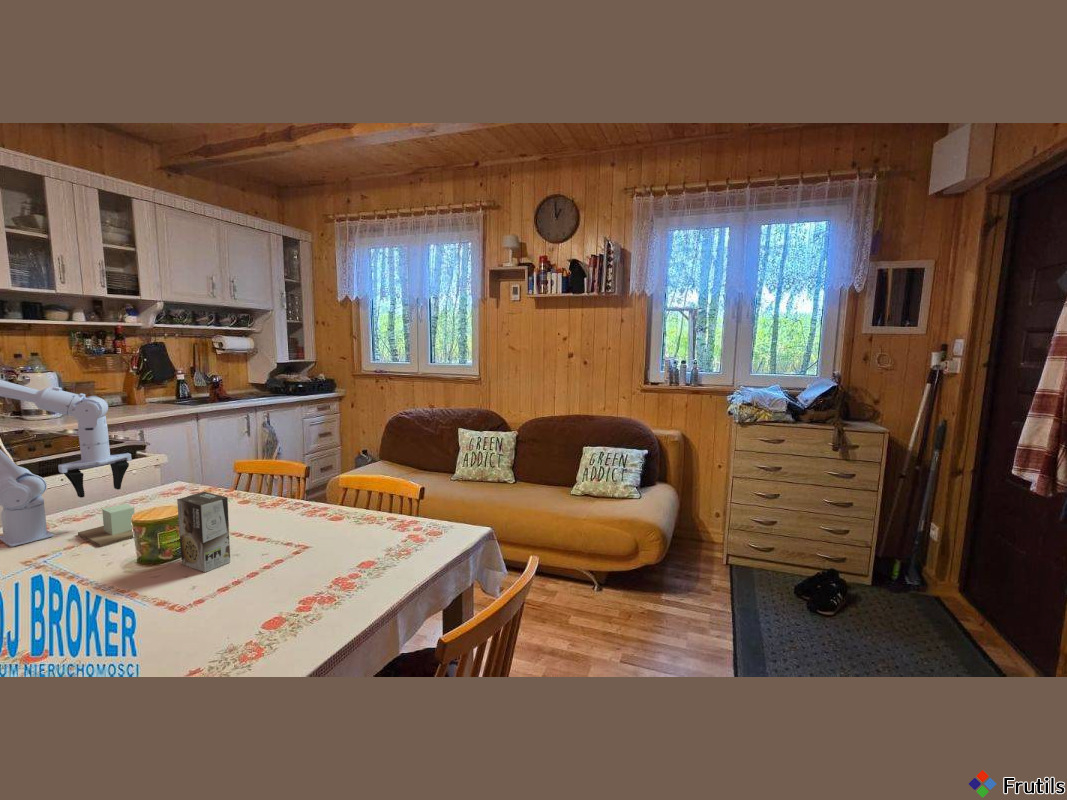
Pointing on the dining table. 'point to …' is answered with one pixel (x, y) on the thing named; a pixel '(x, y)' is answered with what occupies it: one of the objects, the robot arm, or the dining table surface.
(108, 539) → the walnut base board
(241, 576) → the dining table surface
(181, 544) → the coffee box
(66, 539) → the dining table surface
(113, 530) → the sage block
